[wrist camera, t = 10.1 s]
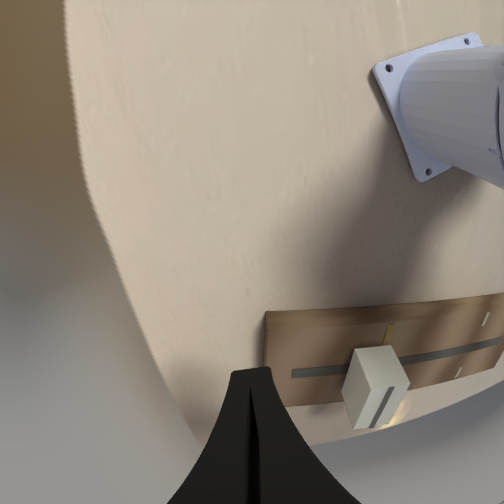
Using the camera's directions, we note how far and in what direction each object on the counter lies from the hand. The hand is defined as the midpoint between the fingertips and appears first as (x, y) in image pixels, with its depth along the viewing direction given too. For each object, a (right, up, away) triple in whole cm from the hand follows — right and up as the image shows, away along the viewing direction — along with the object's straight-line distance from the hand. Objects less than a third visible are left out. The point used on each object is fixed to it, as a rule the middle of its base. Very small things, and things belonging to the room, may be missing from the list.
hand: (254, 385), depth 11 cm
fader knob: (+9, -4, +12) cm, 15 cm away
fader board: (+14, -3, +14) cm, 20 cm away
